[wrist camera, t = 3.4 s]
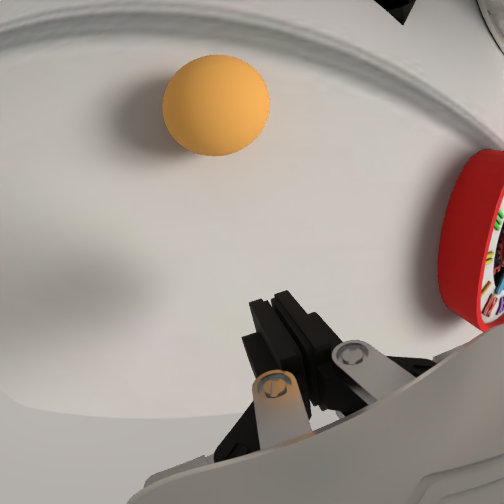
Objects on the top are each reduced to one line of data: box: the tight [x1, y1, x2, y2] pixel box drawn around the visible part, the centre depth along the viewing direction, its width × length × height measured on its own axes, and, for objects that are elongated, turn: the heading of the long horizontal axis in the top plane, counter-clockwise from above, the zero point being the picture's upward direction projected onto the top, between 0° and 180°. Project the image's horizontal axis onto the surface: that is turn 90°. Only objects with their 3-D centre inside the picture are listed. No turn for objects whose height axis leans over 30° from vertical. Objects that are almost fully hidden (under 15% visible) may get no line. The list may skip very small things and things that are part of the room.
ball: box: [162, 55, 270, 156], centre depth 13 cm, size 6×6×6 cm
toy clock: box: [438, 149, 504, 332], centre depth 23 cm, size 20×6×20 cm
